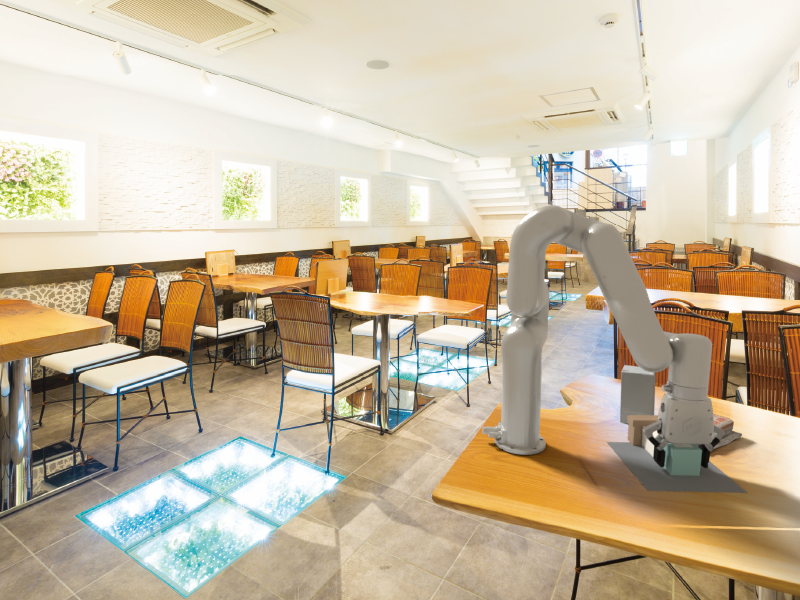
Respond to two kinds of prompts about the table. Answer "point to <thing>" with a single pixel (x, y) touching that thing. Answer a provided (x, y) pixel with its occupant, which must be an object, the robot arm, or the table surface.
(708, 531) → the table surface
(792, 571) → the table surface
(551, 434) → the table surface
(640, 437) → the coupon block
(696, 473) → the teal cube
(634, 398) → the skincare box
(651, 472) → the mat
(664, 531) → the table surface
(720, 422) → the packaged product
